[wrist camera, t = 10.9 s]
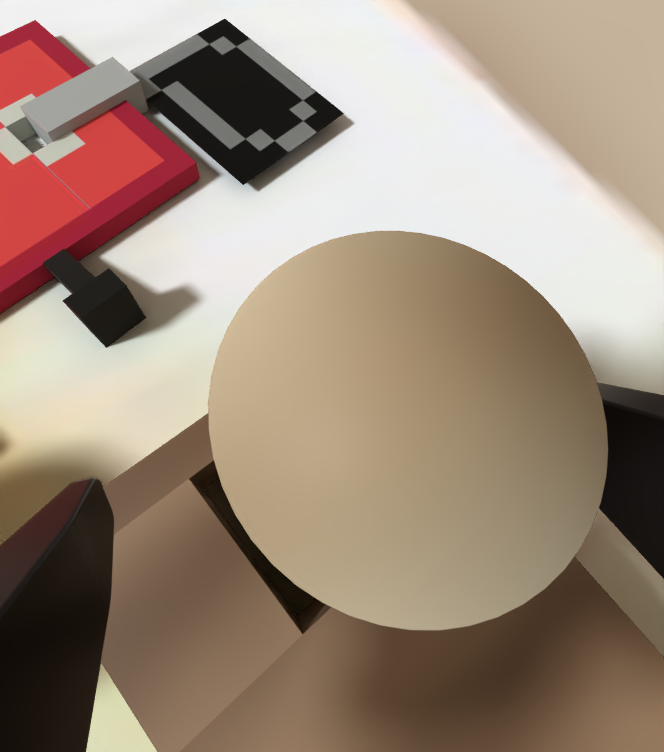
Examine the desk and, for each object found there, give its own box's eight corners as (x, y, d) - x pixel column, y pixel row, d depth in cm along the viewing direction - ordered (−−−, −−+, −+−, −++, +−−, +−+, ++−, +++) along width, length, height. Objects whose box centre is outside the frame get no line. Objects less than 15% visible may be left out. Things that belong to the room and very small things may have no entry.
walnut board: (678, 731, 16) (767, 773, 13) (435, 1102, 12) (486, 1274, 9) (342, 343, 19) (354, 309, 16) (70, 541, 15) (25, 542, 12)
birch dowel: (388, 509, 17) (693, 436, 5) (300, 590, 16) (407, 773, 3) (317, 422, 18) (423, 166, 6) (227, 492, 16) (106, 363, 4)
